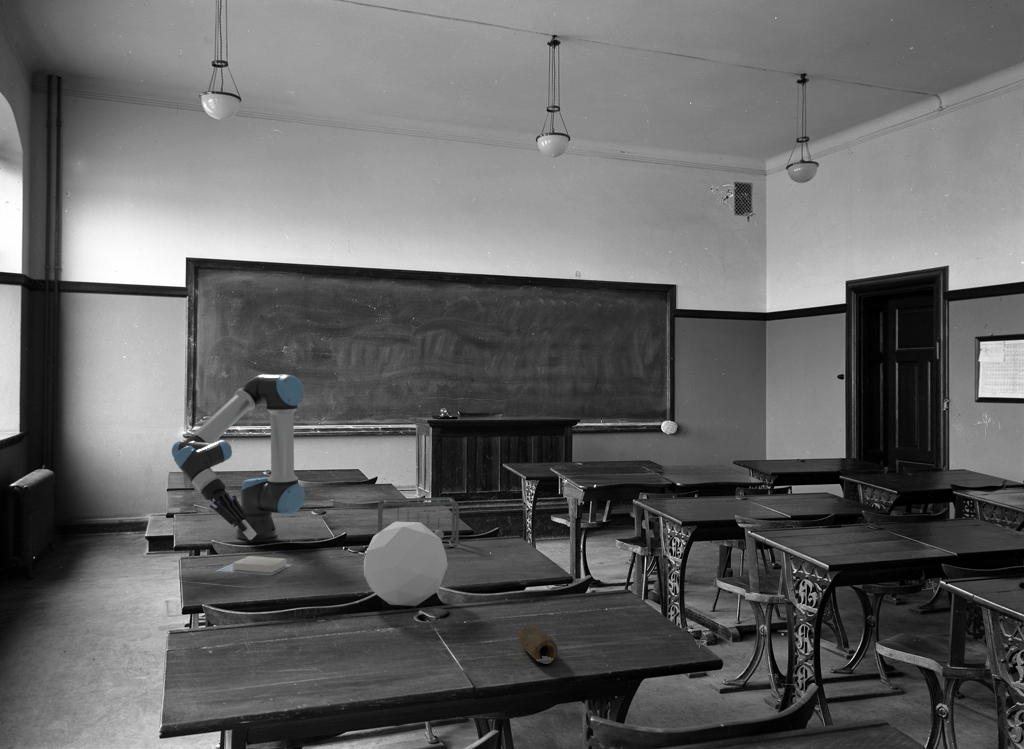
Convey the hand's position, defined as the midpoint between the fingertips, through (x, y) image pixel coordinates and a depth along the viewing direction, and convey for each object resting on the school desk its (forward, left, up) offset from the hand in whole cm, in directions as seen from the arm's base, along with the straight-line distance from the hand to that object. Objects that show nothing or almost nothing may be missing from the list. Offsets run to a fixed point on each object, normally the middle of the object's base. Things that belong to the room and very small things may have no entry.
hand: (253, 537), depth 268 cm
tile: (+2, -4, -9) cm, 10 cm away
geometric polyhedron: (-18, +63, -11) cm, 67 cm away
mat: (0, 0, -11) cm, 11 cm away
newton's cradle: (-63, +7, -11) cm, 64 cm away
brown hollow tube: (-18, +119, -11) cm, 120 cm away
